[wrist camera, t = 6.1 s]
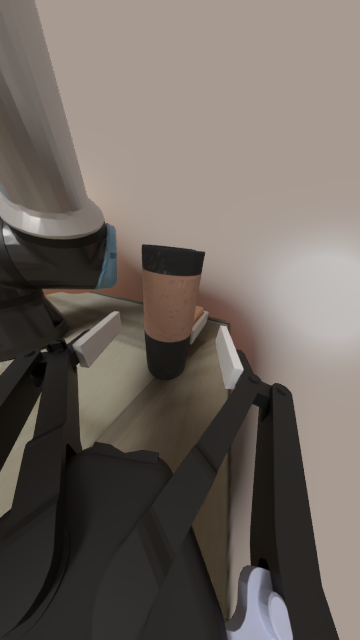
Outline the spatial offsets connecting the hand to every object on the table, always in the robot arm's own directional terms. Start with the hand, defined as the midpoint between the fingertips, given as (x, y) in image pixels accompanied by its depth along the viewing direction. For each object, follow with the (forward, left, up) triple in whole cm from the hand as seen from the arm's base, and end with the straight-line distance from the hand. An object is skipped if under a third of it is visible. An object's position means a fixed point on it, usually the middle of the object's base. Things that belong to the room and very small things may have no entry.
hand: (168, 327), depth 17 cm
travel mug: (-2, +3, -11) cm, 12 cm away
